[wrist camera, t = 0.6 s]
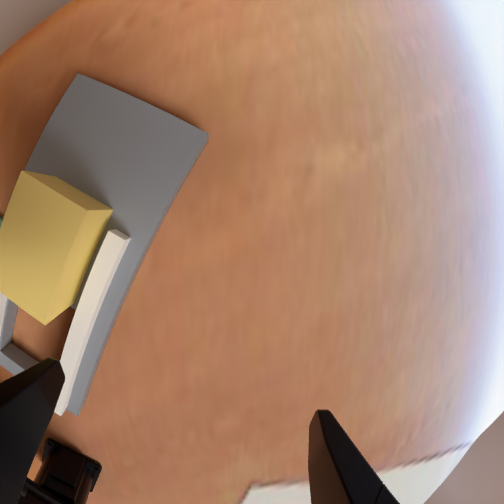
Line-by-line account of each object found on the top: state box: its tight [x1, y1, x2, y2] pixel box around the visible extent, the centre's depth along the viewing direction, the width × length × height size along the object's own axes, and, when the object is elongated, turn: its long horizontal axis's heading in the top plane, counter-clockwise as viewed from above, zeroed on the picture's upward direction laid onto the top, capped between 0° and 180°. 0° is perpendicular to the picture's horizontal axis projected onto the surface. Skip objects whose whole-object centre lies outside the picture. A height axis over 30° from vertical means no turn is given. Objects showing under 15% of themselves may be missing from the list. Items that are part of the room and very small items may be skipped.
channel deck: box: [0, 73, 209, 416], centre depth 17 cm, size 24×11×4 cm, turn 150°
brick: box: [0, 170, 113, 325], centre depth 15 cm, size 7×5×4 cm
